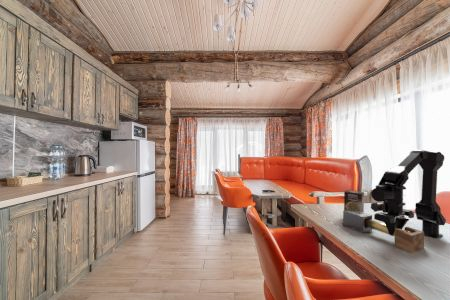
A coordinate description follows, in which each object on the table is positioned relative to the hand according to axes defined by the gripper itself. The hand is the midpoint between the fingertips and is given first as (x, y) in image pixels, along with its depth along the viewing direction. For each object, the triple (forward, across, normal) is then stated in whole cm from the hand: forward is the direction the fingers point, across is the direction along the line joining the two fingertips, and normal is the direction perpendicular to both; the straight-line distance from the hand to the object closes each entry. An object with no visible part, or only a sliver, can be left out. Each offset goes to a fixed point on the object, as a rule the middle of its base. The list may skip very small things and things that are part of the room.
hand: (394, 234), depth 92 cm
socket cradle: (+3, 0, +6) cm, 6 cm away
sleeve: (+3, 0, -16) cm, 17 cm away
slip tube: (+1, 0, -4) cm, 4 cm away
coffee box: (+4, -11, -26) cm, 29 cm away
